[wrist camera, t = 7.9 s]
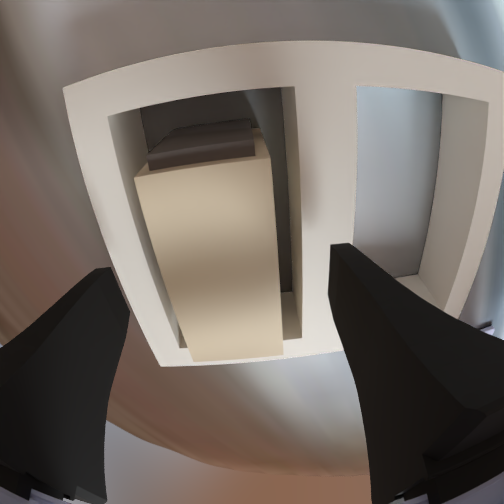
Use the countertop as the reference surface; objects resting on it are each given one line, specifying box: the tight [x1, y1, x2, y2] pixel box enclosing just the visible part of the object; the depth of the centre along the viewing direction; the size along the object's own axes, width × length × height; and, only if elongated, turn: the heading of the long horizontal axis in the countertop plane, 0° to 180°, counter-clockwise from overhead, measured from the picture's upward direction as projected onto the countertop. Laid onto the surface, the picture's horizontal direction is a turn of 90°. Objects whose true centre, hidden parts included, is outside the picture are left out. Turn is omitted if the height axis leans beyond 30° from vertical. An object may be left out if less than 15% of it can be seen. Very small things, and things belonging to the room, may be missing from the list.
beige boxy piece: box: [134, 119, 284, 362], centre depth 13 cm, size 9×4×5 cm, turn 6°
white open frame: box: [63, 41, 504, 366], centre depth 13 cm, size 14×17×4 cm
